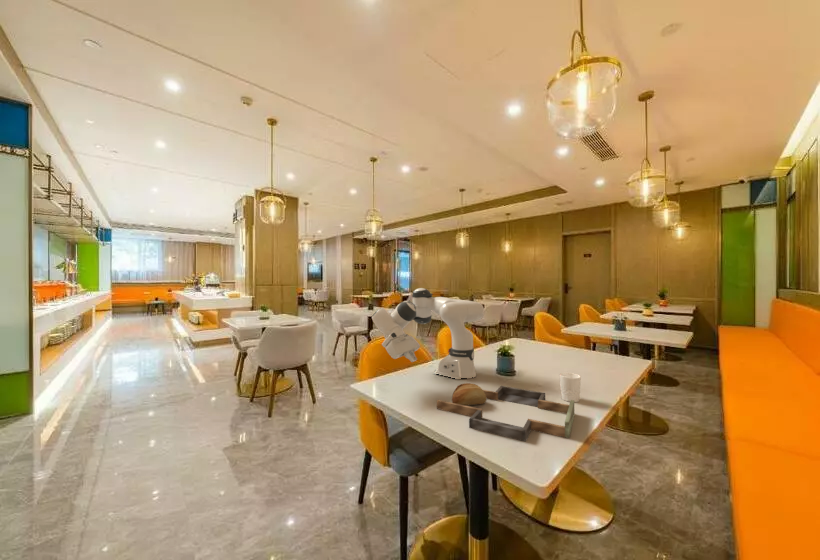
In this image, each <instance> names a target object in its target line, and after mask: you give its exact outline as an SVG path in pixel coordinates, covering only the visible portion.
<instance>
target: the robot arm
mask: <svg viewBox="0 0 820 560" xmlns="http://www.w3.org/2000/svg"><path fill="white" fill-rule="evenodd" d="M411 295H412V296H411V297H412V301H410V300H404V301H402V302H400V303H399V304H397V306H396V307H395V309H394V310H393V311H392V312H391V314H390V313H389V312H388V310H387V309H386V308H384V307H380V308H378V309H377V310H376V311H374V313H373V314H372V315H371V319H372V322H373V323H374V326H375V327H376V328H377V329H378V332H380V333H382V335H383V337H384V340H383V342H382V343H381V346H382V347H383V348H385V350H386V352H387V354H388V355H389V356H390V357H391V358H392V359H394V360H396V359H398V358H402V357H405V358H406V359H408V360H409V361H410V362H411V363H413V362H416V361H417V360H418V358H417V356H416V354H415V352H416V351H418V350H419V349H420V348H421V345H420V343H419V342H418V341H417V340H416V339H415V337H414V336H412V335H409V334H407V333H406V332H405V331H404V328H406V326H408V325H409V324H410V323H411V322H412V321H413V320H414V322H415V323H417V324H420V325H425V324H429V323H430V322H431V321H432V311H433V312H434V313H435V314H437V315H439V317H440V320H442V321H443V323H445V324H446V325H447V326H448V328H449V330H450V336H451V347H450V348H449V349H448V350H447V353H448V354H447V355H446V356H445V357H444V358H442V359H440V361H439V363H438V366H437V369H438V370H437V372H436V373H438V374H441V375H444V376H448V377H451V378H450V379H452V378H455V379H454V380H462V379H461V378H467V379H473V378H476V377H477V372H476V367H475V361H474V359H475V348H474V336H473V333H472V332H471V330H469V329H467V328H466V326H465V323H472V322H476V321H480V320H482V319H483V318H484V315H485V309H484V305H483V304H482V303H481V302H478V301H473V300H468V299H466V300H464V299H456V298H455V299H454V298H451V297H450V298H449V297H444V296H436V297H433V293H431V291H430V290H428V289H427V288H425V287H424V288H423V287H419V288H416V289H414V290H413V291H412V294H411ZM444 376H443V377H444ZM448 377H447V378H448ZM472 377H473V378H472Z"/></svg>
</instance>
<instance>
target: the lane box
mask: <svg viewBox="0 0 820 560" xmlns="http://www.w3.org/2000/svg"><path fill="white" fill-rule="evenodd" d="M459 385H460V384H459ZM459 385H457V386H459ZM482 390H483V391H484V393H485V395H486V400H487V399H488V400H493V401H498V400H499V401H505V402H510V403H514V404H521V405H526V406H531V407H535V408H538V409H542V410H547V411H552V412H556V413H562V414H566V417H565V420H564V425H560V424H556V423H550V422H546V421H541V420H537V419H536V420H535V419H531V418H527V420H526V422H525V423H524V426H519V425H515V424H510V423H505V422H500V421H496V420H492V419H487V418H483V408H478V407H475V406H471V405H460V404H455V403H452V402H451V401H450V402H449V401H446V400H440V399H438V400H436V409H437V410H440V411H441V410H442V411H447V412H451V413H455V414H459V415H463V416H468V417H469V419H468V425H469V427H468V428H469V429H474V430H476V431H481V432H484V433H485V432H486V433H490V434H493V435H497V436H502V437H505V438H509V439H514V440H518V441H523V442H526V441H527V440H528V438H529V435H530V434H531V431H534V430H535V432H539V431H540V432H539V433H543V432H544V434H548V435H552V436H553V435H554V436H557V437H561V436H562V437H561V438H565V437H567V438H566V439H570V436H571V433H572V427H573V423H574V418H575V402H574V400H571V401H570V402H569V404H567V403H566V404H565V403H560V402H556V401H555V402H554V401H549V400H546V392H541V391H535V390H529V389H523V388H517V387H512V386H511V387H509V386H505V385H501V386H499V387H498V388H497V389H496V390H495V391H492V390H486V389H482Z"/></svg>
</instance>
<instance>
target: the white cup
mask: <svg viewBox="0 0 820 560" xmlns="http://www.w3.org/2000/svg"><path fill="white" fill-rule="evenodd" d="M581 377H582V376H581V375H579V374H576V373H573V372H561V373H560V374H559V386H560V392H561V393H560V395H561V399H562V400H563V401H564V402H565V401H566V402H568V403H570V401H571V400H574V403H578V402H580V396H581V395H580V394H581V383H582V381H581V379H582V378H581Z"/></svg>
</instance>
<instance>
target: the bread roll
mask: <svg viewBox="0 0 820 560" xmlns="http://www.w3.org/2000/svg"><path fill="white" fill-rule="evenodd" d="M483 390H484V389H483V388H482V387H481V386H479V385H478V384H474V383H472V382H466V383H465V382H464V383H461V384H459V386H458V385H457V386H456V388H455V389H454V391H453V393H452V397H451V403H455V404H460V405H465V406H472V405H473V406H476V405H483V404H486V401H487V398H486V395H485V393H484V391H483Z"/></svg>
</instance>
